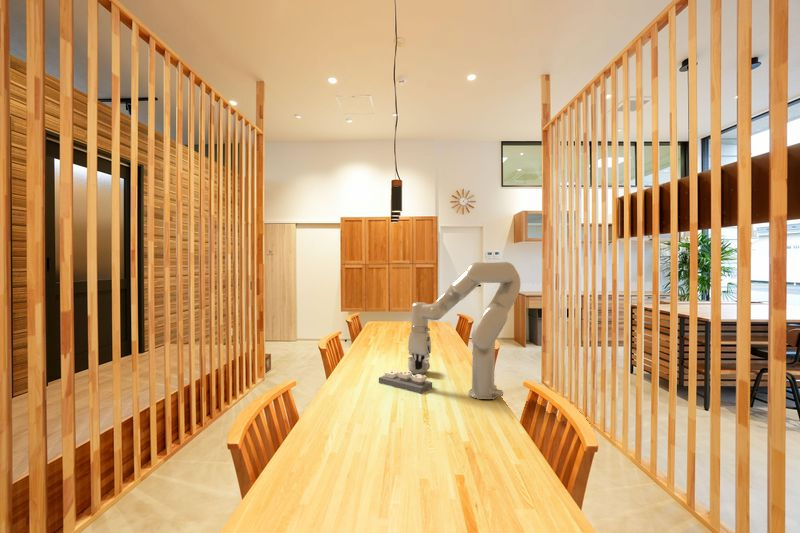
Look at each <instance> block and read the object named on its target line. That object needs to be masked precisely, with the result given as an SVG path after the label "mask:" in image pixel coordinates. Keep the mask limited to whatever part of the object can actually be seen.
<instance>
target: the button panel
mask: <svg viewBox="0 0 800 533" xmlns="http://www.w3.org/2000/svg"><path fill="white" fill-rule="evenodd" d="M378 383H379V384H381V385H382V384H383V385H385V386H388V387H389V386H390V387H394V388H397V389H401V390H406V391H409V392H412V393H417V394H420V395H421V394H422V393H424V392H426V391H428V390H430V389H432V388H433V381H428V380H425V381H424V384H423V385H417V384H414V381H413V380H412V377H410V380H409V381H407V382H404V381H400V377H398V376H397V377H395V378H393V379H392V378H388V377H385V374H384V375H382V376H380V377H378Z"/></svg>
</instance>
